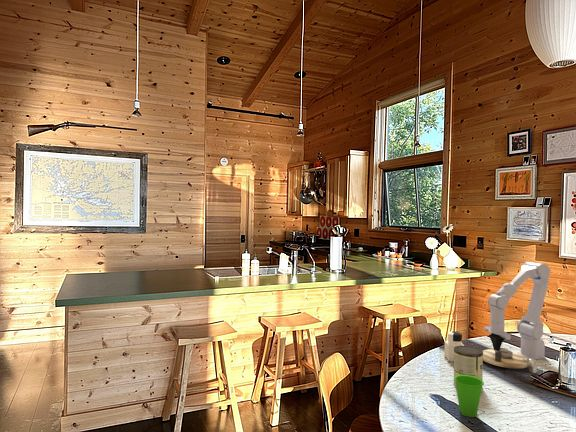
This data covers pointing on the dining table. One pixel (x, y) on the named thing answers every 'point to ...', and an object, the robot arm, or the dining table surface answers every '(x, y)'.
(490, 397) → the dining table surface
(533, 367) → the silver knobbed piece
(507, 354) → the cover
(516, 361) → the platter
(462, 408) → the cup
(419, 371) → the dining table surface
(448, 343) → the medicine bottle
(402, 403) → the dining table surface
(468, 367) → the coffee can
